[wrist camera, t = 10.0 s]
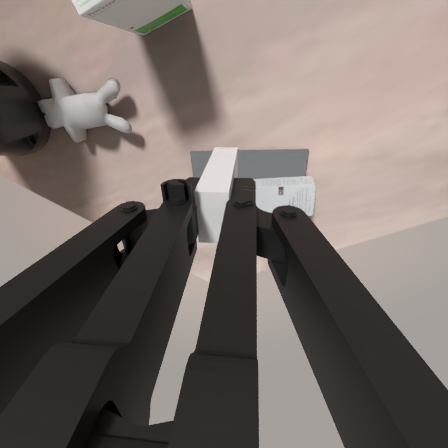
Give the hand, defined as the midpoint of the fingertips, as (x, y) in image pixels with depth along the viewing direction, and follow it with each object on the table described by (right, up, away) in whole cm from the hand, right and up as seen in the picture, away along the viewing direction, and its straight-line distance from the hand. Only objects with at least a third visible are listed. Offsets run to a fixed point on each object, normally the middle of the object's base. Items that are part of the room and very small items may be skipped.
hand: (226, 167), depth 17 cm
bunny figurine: (-22, +16, +26) cm, 38 cm away
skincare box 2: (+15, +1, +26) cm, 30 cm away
